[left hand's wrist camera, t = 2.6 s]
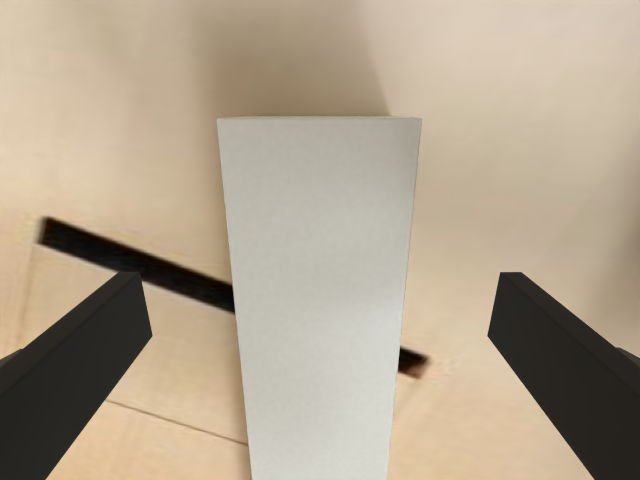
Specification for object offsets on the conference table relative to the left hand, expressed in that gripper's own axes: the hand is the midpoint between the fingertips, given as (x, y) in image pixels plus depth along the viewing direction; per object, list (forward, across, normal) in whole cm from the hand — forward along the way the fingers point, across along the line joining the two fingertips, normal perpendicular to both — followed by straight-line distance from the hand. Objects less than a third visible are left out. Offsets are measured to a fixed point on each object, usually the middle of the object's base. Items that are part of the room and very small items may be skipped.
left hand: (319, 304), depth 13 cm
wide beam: (+13, 0, -35) cm, 37 cm away
